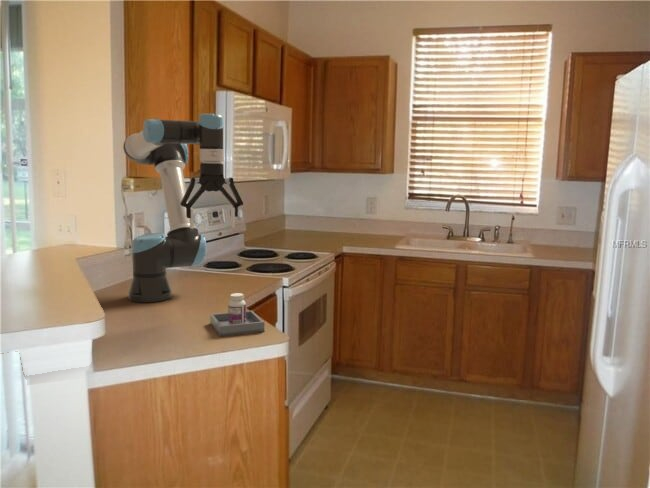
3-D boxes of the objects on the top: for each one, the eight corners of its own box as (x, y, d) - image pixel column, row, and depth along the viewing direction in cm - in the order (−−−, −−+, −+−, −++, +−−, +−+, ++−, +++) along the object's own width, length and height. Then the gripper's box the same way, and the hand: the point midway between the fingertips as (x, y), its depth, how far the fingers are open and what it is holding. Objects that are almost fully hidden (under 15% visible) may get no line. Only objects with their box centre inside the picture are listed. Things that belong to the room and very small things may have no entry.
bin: (219, 336, 164) (219, 326, 164) (210, 323, 177) (210, 314, 176) (264, 331, 170) (264, 322, 169) (252, 319, 182) (252, 310, 182)
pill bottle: (237, 321, 177) (236, 291, 175) (249, 324, 174) (249, 294, 172) (224, 325, 172) (224, 294, 171) (237, 328, 169) (237, 297, 168)
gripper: (173, 162, 174) (175, 230, 178) (252, 163, 184) (252, 227, 187) (170, 161, 181) (172, 227, 184) (246, 162, 191) (246, 224, 194)
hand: (212, 227), depth 186 cm, fingers open, 13 cm apart
